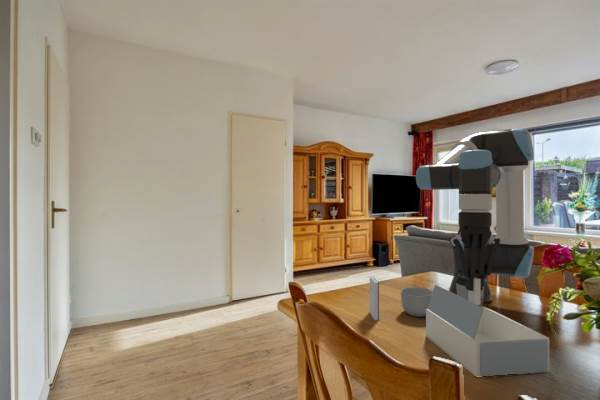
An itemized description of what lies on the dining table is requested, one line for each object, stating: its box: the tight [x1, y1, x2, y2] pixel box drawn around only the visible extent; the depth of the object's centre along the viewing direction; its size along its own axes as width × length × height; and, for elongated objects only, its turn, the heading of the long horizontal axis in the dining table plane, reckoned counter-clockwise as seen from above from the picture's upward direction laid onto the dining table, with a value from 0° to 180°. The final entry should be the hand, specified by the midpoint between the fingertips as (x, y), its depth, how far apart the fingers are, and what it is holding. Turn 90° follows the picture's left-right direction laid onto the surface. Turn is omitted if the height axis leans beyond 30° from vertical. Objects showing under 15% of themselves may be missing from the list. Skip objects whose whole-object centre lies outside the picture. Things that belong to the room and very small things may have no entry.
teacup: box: [400, 285, 433, 317], centre depth 116 cm, size 14×11×8 cm
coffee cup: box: [456, 274, 485, 307], centre depth 105 cm, size 8×8×15 cm
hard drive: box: [369, 276, 380, 321], centre depth 112 cm, size 2×8×12 cm, turn 0°
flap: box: [428, 284, 484, 339], centre depth 84 cm, size 7×20×1 cm
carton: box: [425, 306, 550, 376], centre depth 85 cm, size 19×23×8 cm
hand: (474, 303), depth 85 cm, fingers closed
